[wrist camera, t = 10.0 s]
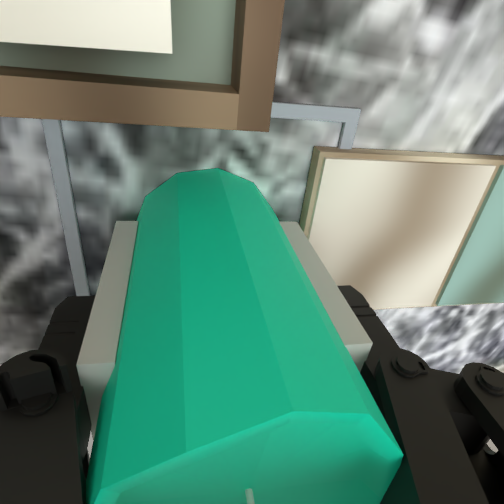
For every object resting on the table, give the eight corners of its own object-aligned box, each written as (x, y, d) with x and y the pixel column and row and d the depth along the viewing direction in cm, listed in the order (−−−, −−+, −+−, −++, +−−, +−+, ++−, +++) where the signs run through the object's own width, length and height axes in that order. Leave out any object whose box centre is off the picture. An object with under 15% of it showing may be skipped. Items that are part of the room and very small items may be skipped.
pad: (86, 338, 17) (85, 341, 17) (36, 83, 11) (34, 84, 11) (306, 325, 19) (307, 327, 19) (359, 108, 14) (361, 109, 13)
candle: (103, 201, 14) (-81, 684, 4) (251, 144, 14) (469, 484, 4) (172, 309, 17) (172, 711, 7) (290, 263, 17) (459, 610, 7)
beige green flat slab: (284, 304, 18) (288, 316, 17) (313, 146, 14) (321, 153, 13) (540, 292, 22) (553, 302, 21) (626, 162, 17) (646, 168, 17)
